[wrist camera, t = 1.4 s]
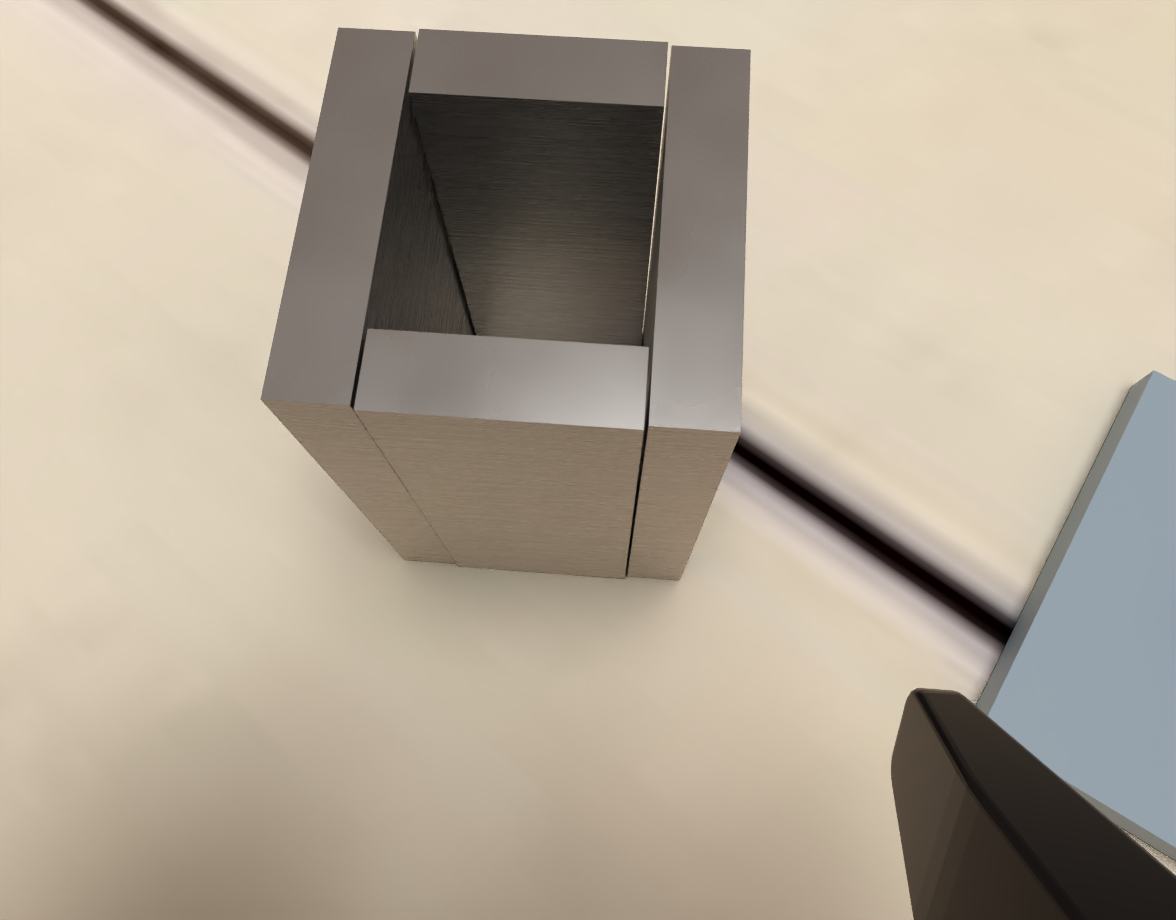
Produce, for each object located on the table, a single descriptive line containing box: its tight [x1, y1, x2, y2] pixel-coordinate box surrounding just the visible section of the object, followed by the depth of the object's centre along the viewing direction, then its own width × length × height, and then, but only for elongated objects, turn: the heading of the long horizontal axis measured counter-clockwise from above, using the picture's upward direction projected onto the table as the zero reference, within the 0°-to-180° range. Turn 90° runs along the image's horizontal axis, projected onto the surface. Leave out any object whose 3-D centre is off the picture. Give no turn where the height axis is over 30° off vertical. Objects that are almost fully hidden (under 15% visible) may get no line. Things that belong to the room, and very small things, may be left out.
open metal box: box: [261, 28, 751, 580], centre depth 18 cm, size 7×7×10 cm
